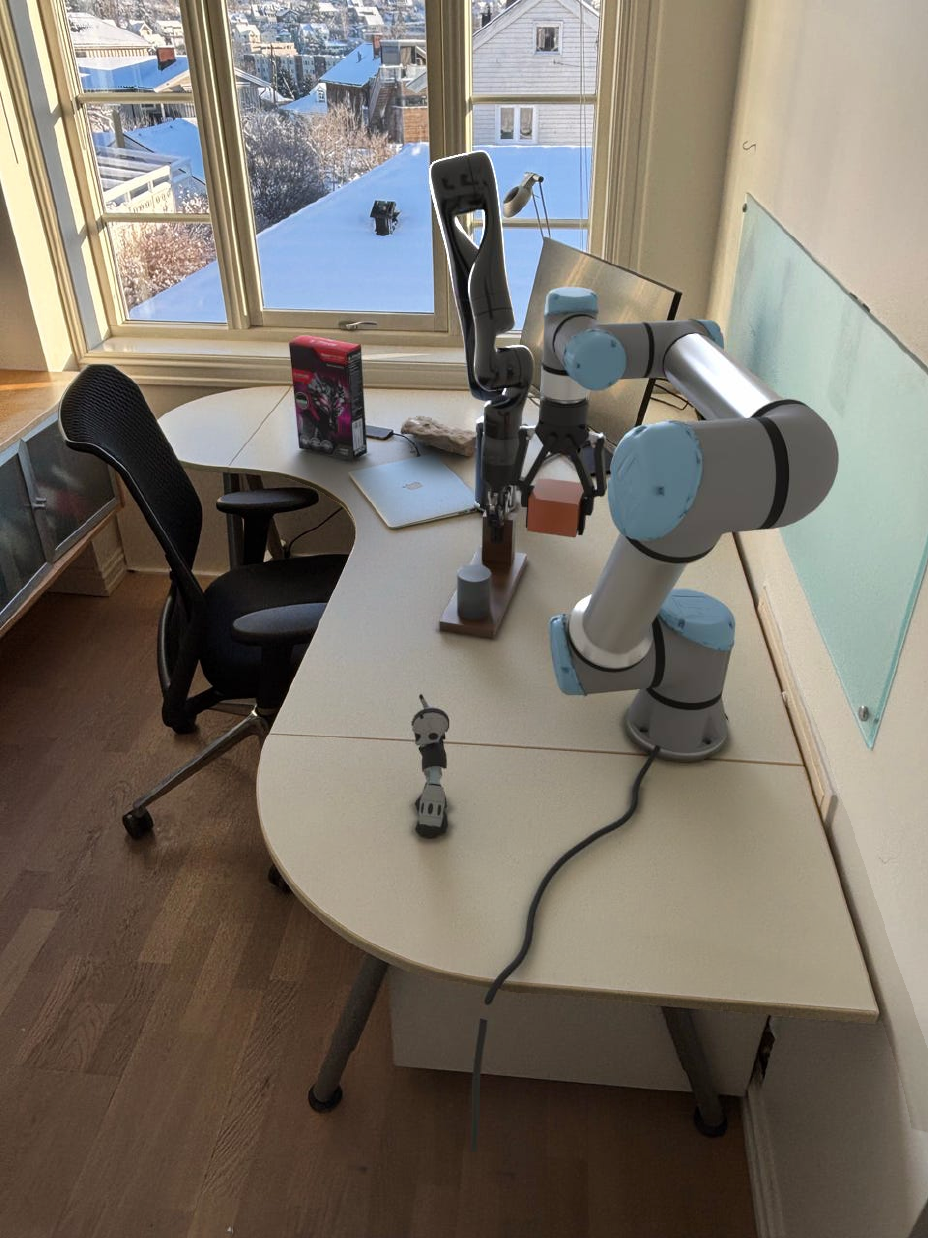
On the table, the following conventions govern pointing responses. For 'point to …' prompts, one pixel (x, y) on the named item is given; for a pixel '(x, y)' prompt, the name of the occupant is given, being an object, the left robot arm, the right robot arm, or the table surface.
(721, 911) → the table surface
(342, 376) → the graphics card box
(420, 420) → the stone
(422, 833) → the robot
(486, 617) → the walnut stand
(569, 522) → the terracotta cap
